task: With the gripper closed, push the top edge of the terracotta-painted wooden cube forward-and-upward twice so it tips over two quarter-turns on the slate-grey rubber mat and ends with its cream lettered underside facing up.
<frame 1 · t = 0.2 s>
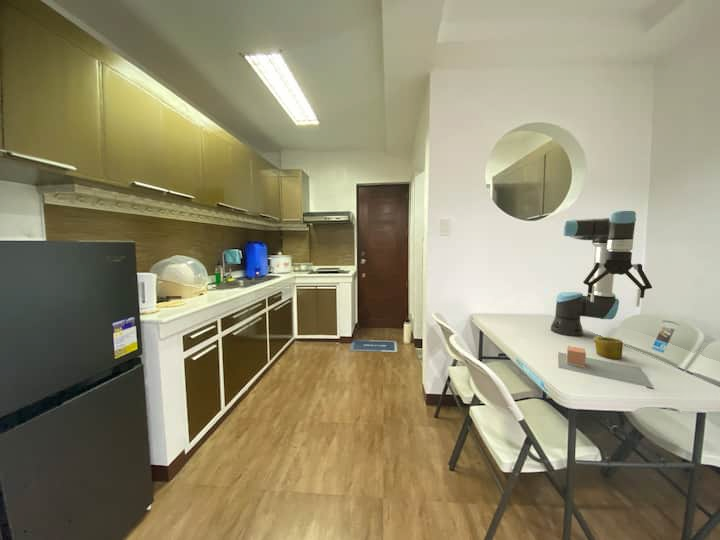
hand: (613, 303, 113), 28 cm above the table, fingers open, 13 cm apart
mat: (599, 368, 117), on the table
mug: (605, 355, 131), on the table
letter cube: (575, 362, 122), resting on mat
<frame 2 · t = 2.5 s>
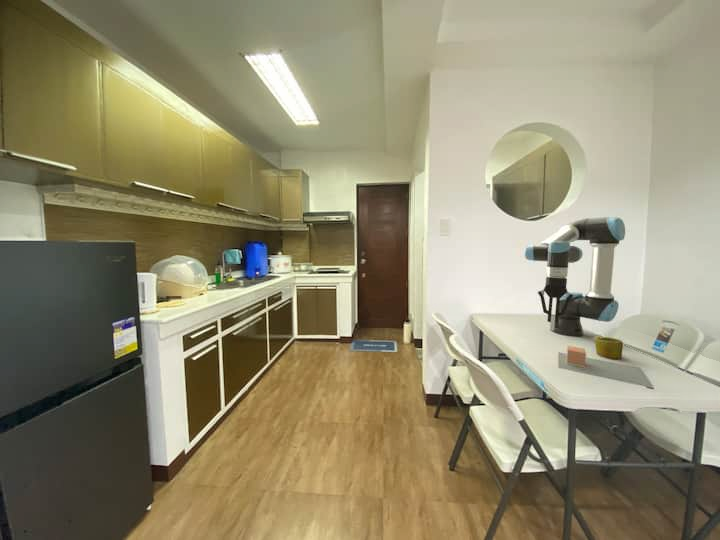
hand: (552, 329, 125), 14 cm above the table, fingers closed
nothing on the table moved.
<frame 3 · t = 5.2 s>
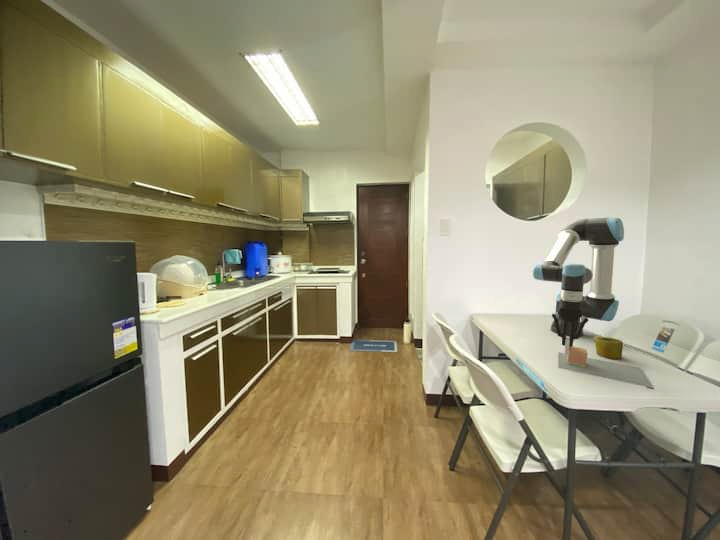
hand: (566, 352, 123), 4 cm above the table, fingers closed
letter cube: (575, 362, 121), point 1 cm above the table, touching gripper
everything else where it was.
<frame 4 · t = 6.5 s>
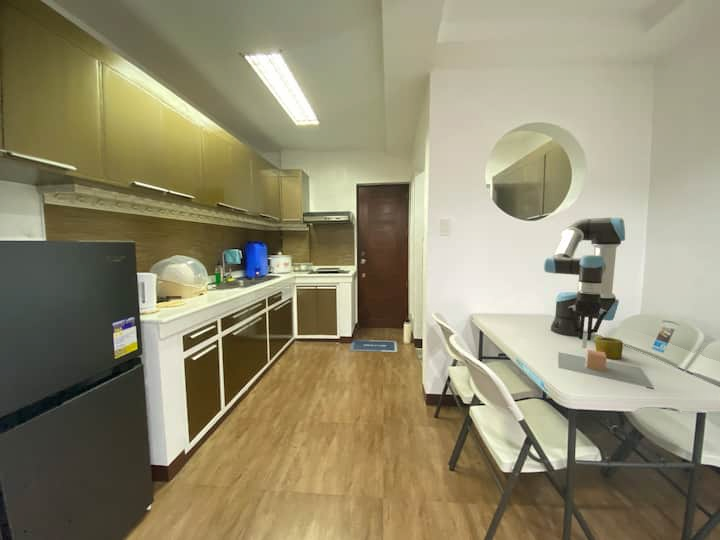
hand: (583, 347, 119), 8 cm above the table, fingers closed
letter cube: (586, 358, 119), point 3 cm above the table, tilted 90°, touching mat
everything else where it was.
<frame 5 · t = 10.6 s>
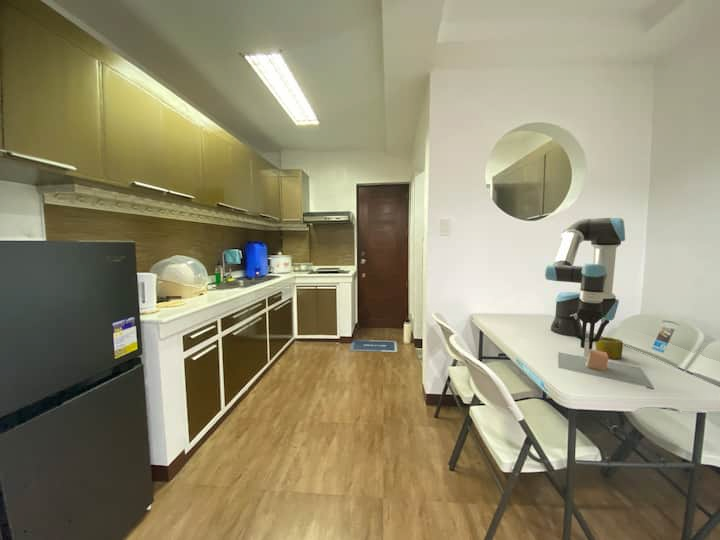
hand: (585, 355, 119), 4 cm above the table, fingers closed
letter cube: (587, 357, 119), point 4 cm above the table, tilted 94°, touching gripper
everything else where it was.
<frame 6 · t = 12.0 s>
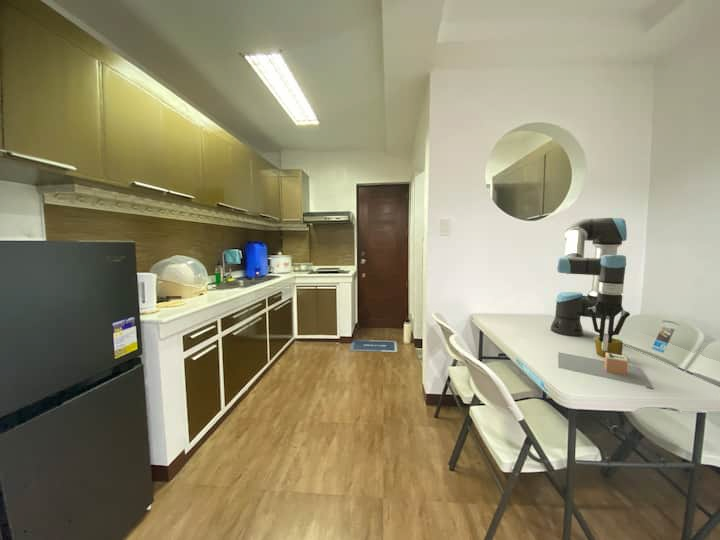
hand: (604, 349, 116), 8 cm above the table, fingers closed
letter cube: (616, 356, 114), point 6 cm above the table, tilted 180°, touching mat
everything else where it was.
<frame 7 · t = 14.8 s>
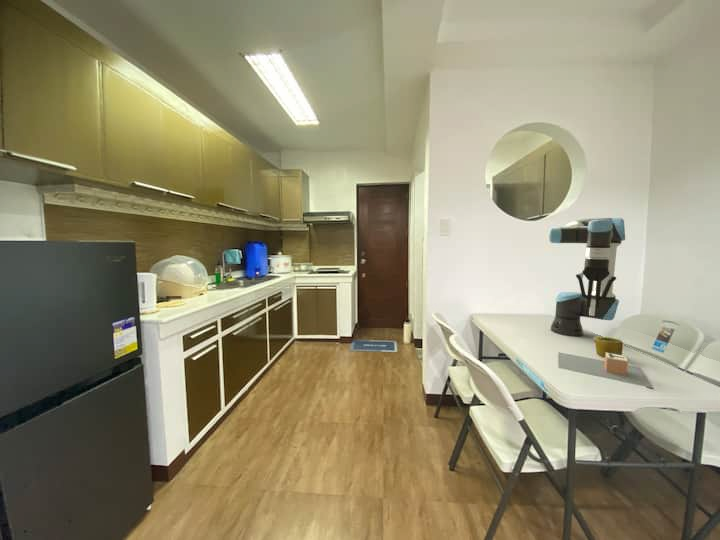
hand: (591, 314, 117), 22 cm above the table, fingers closed
nothing on the table moved.
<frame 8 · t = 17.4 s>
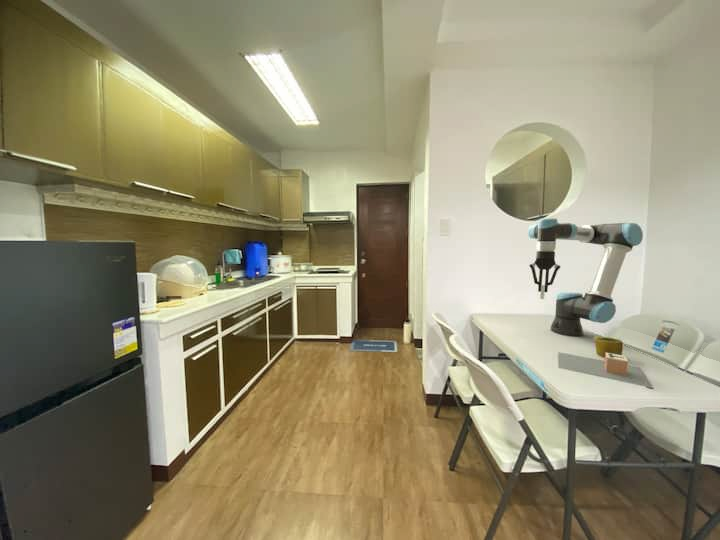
hand: (542, 298, 139), 24 cm above the table, fingers closed
nothing on the table moved.
at the end: letter cube tilted 180°; letter cube inside the target area (1.7 cm from its centre), point 6.4 cm above the table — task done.
